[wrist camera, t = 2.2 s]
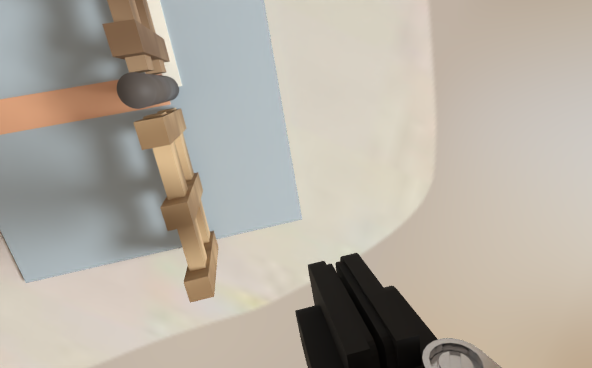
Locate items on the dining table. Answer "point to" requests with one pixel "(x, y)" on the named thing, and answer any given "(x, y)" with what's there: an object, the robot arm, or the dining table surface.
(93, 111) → the card
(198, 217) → the fence fold
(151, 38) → the fence fixed
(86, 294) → the dining table surface
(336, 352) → the robot arm
